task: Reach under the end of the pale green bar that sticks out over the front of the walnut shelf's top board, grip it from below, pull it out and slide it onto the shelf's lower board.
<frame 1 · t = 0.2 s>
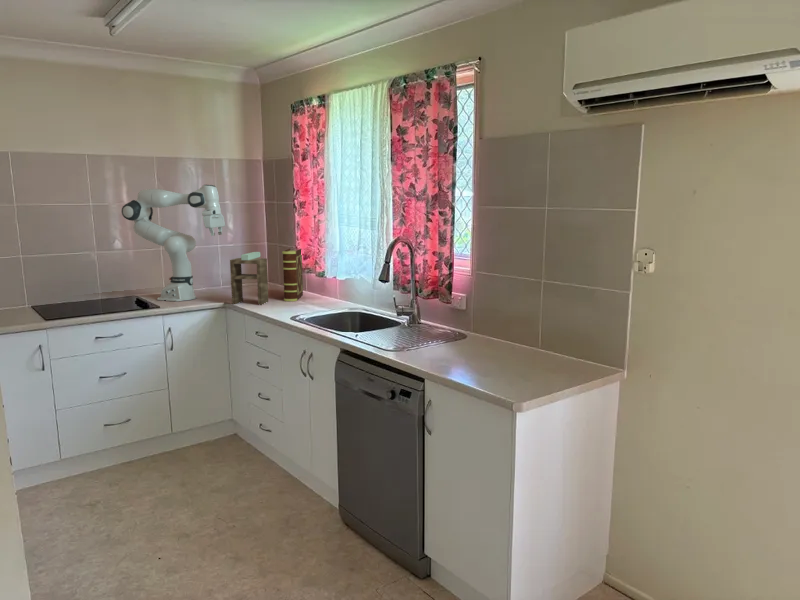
hand: (216, 235, 353), 39 cm above the worktop, tool pointing down, fingers open, 8 cm apart
pale green bar: (251, 258, 349), point 26 cm above the worktop, touching walnut shelf
walnut shelf: (250, 303, 350), on the worktop
decorative book: (293, 298, 366), on the worktop
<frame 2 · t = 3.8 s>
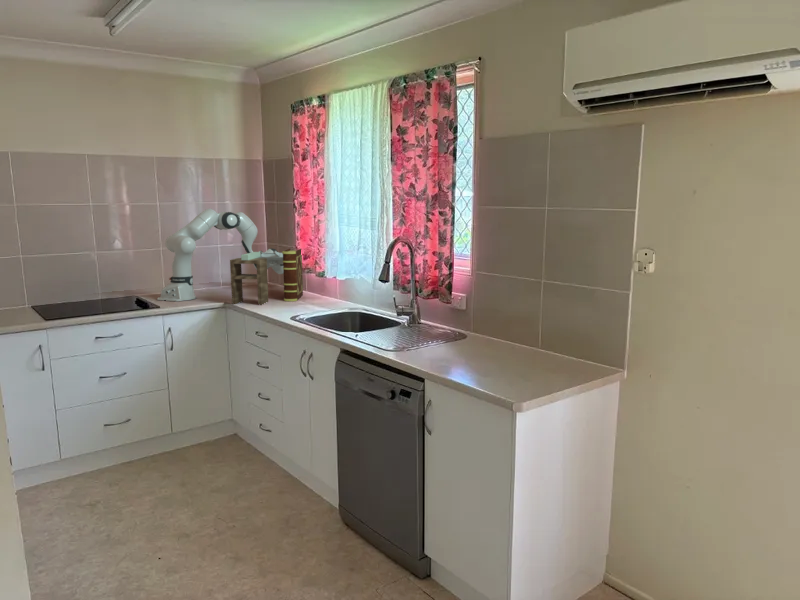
hand: (267, 251, 375), 27 cm above the worktop, tool pointing upward, fingers open, 8 cm apart
nothing on the worktop moved.
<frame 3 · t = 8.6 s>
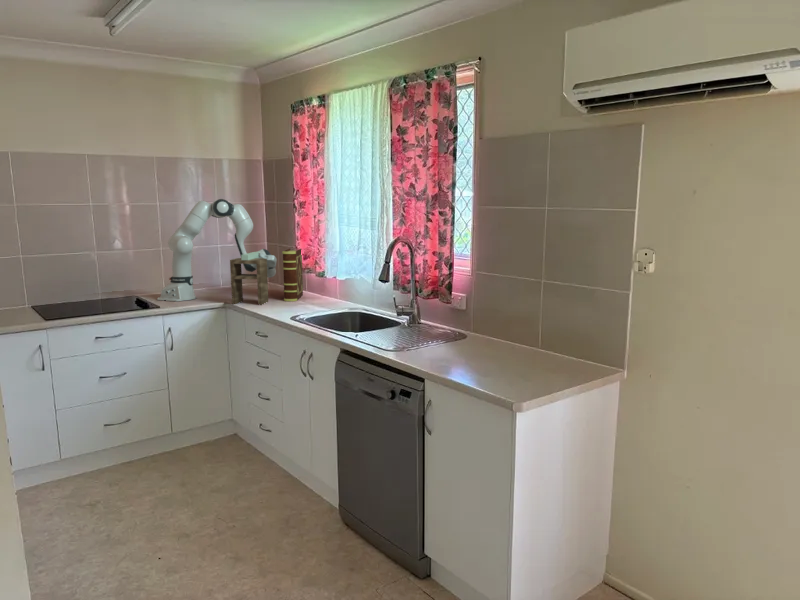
hand: (255, 254, 355), 28 cm above the worktop, tool pointing upward, fingers closed on pale green bar, 4 cm apart
pale green bar: (251, 258, 349), point 26 cm above the worktop, touching gripper, walnut shelf
everything else where it was.
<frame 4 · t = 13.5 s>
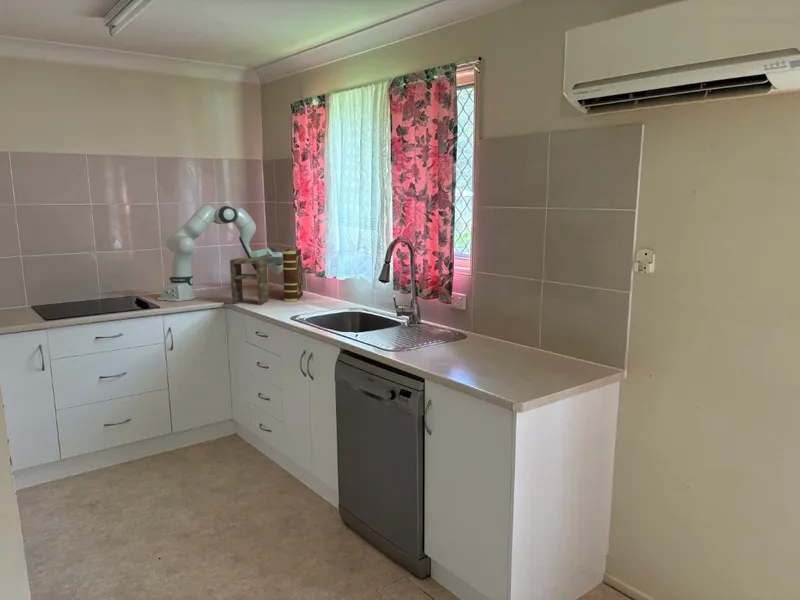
hand: (263, 251, 368), 28 cm above the worktop, tool pointing upward, fingers closed on pale green bar, 4 cm apart
pale green bar: (260, 255, 363), point 26 cm above the worktop, touching gripper
everything else where it was.
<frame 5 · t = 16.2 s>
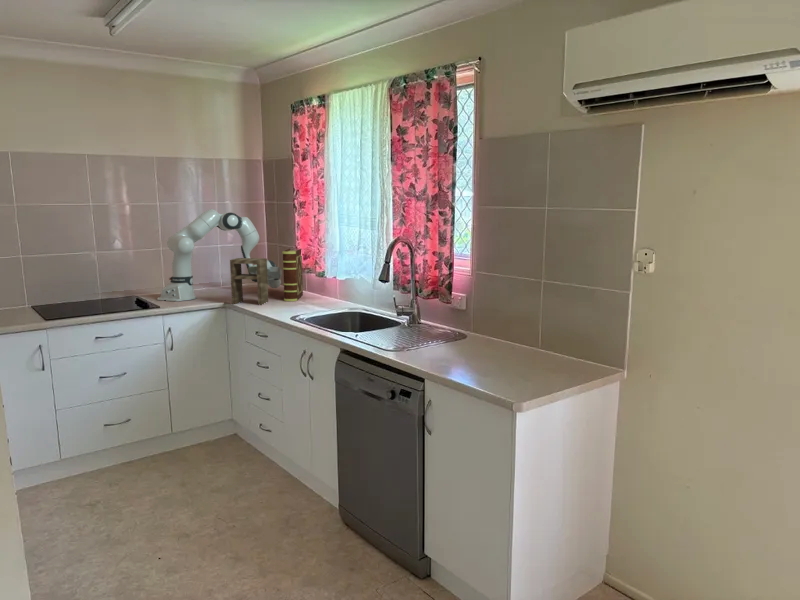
hand: (261, 266, 365), 20 cm above the worktop, tool pointing upward, fingers closed on pale green bar, 4 cm apart
pale green bar: (257, 270, 359), point 18 cm above the worktop, touching gripper
everything else where it was.
when the fingers open (20 cm above the worktop, at t = 18.7 s): pale green bar drops 1 cm, resting on walnut shelf.
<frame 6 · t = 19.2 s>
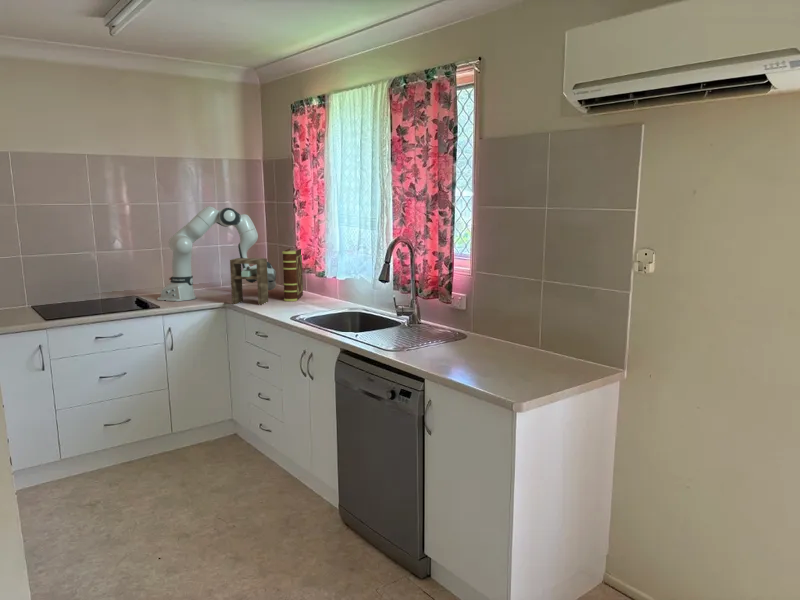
hand: (254, 267, 355), 20 cm above the worktop, tool pointing upward, fingers open, 8 cm apart
pale green bar: (251, 274, 350), point 16 cm above the worktop, touching walnut shelf
everything else where it was.
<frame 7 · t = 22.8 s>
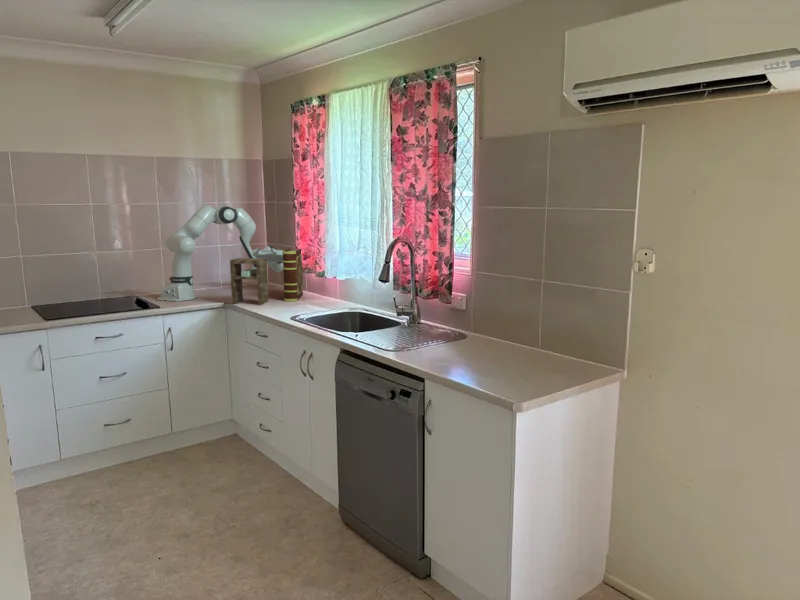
hand: (264, 249, 370), 30 cm above the worktop, tool pointing upward, fingers open, 8 cm apart
nothing on the worktop moved.
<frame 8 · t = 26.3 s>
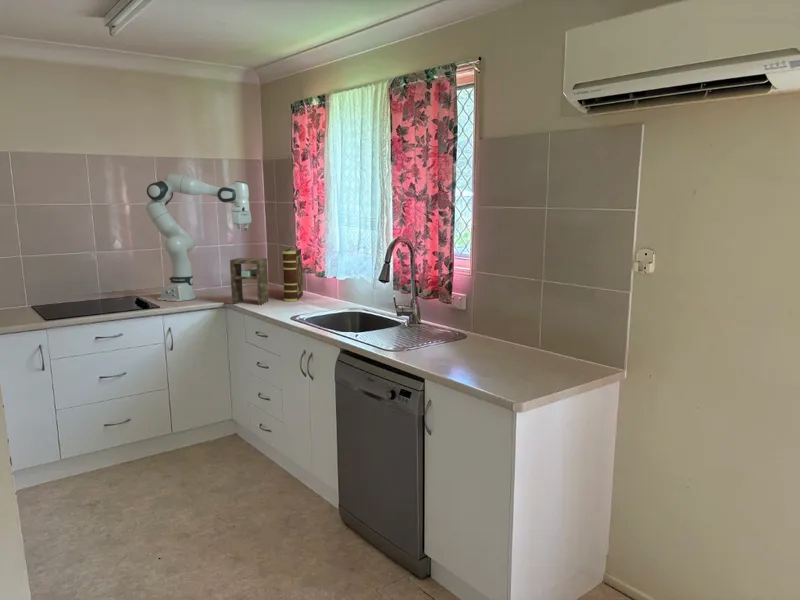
hand: (243, 231, 361), 41 cm above the worktop, tool pointing down, fingers open, 8 cm apart
nothing on the worktop moved.
at the end: pale green bar inside the target area on the walnut shelf (0.1 cm from its centre), point 16.5 cm above the walnut shelf's base; pale green bar tilted 0°; the gripper is holding nothing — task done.
